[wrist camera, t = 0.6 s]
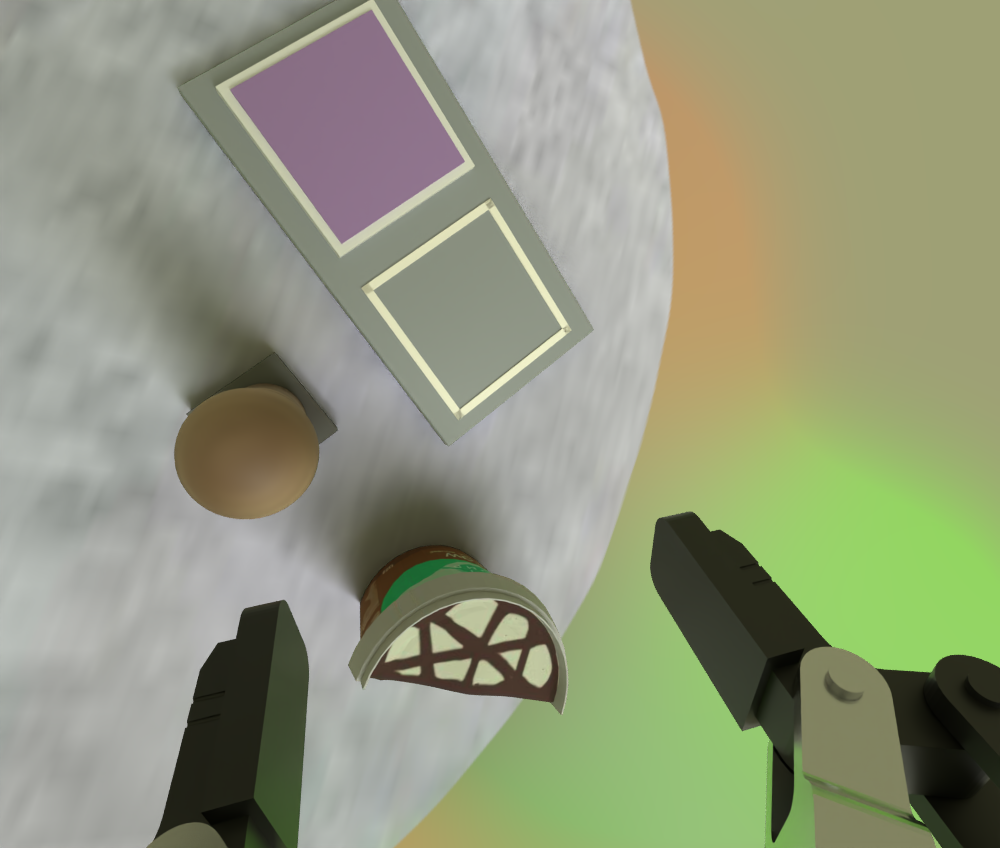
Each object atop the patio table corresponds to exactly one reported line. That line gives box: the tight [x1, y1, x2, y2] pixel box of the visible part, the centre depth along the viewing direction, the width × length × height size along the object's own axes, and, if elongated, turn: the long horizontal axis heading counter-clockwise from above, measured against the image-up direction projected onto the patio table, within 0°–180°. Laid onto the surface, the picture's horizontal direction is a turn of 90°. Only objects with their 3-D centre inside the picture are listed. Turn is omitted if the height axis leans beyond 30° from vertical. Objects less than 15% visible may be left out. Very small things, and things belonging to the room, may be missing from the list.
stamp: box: [174, 353, 338, 519], centre depth 25 cm, size 6×6×14 cm
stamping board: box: [178, 0, 594, 446], centre depth 33 cm, size 24×13×2 cm, turn 36°
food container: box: [348, 545, 568, 715], centre depth 32 cm, size 12×6×10 cm, turn 70°
